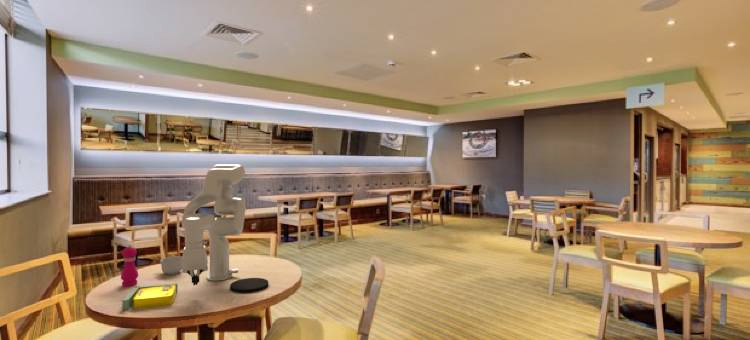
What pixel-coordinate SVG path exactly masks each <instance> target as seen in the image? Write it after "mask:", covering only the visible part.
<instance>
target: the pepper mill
mask: <svg viewBox="0 0 750 340" xmlns="http://www.w3.org/2000/svg"><path fill="white" fill-rule="evenodd" d="M132 246H133V245H132V244H128V245H127V247H125V248H124V249H123V250H122V253H121V255H122V257H123V262H124V267H123V269H122V271H121V274H120V279H121V281H122V282H121V286H122V287H124V288H128V287H133V286H134V287H135V286H136V285H137V284H138V280H137V279H138V277H139V271H138V269H137V267H136V264H135V261H136V256H137V253H138V251H137V248H135V247H132Z"/></svg>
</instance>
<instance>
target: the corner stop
mask: <svg viewBox="0 0 750 340" xmlns="http://www.w3.org/2000/svg"><path fill="white" fill-rule="evenodd" d="M171 285H175V286H176V294H177V293H178V290H179V288H178V285H179V284H178V283H177V282H174V283H163V284H162V283H161V284H151V285H137V286H136V285H135V286H134V287H133V289H132V290H130V292H129V293H128V294H127V295H126V296H125V297H124V298H123V299H122V300H121V301H122V309H121V310H122V311H127V310H129V309H131V307H133V298H134V296H135V295H136V293H137V291H138V290H140V289H142V288H152V287H161V286H171Z"/></svg>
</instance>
